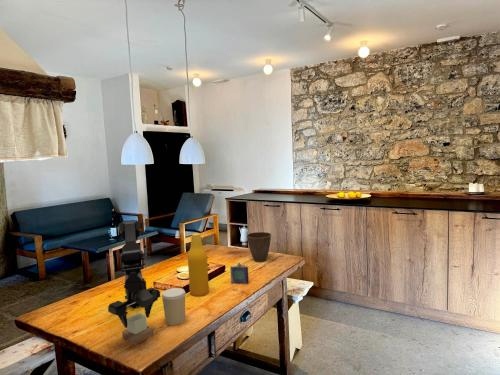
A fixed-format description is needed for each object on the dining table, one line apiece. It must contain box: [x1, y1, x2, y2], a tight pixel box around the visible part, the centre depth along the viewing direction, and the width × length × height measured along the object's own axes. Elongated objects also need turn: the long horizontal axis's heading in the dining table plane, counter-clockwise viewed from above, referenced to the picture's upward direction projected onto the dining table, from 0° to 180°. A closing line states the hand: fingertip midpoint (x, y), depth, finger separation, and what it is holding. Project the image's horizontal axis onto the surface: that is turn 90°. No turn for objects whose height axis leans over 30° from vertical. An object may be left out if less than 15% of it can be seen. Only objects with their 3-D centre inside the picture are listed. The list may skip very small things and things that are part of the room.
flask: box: [230, 262, 249, 285], centre depth 177 cm, size 9×3×11 cm, turn 79°
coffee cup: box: [161, 287, 186, 326], centre depth 139 cm, size 9×9×12 cm
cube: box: [126, 312, 148, 335], centre depth 129 cm, size 5×5×5 cm
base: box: [121, 325, 155, 346], centre depth 129 cm, size 8×8×3 cm
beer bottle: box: [187, 232, 210, 297], centre depth 166 cm, size 9×9×29 cm
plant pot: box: [246, 231, 272, 263], centre depth 212 cm, size 15×15×16 cm
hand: (137, 322), depth 128 cm, fingers open, 9 cm apart
